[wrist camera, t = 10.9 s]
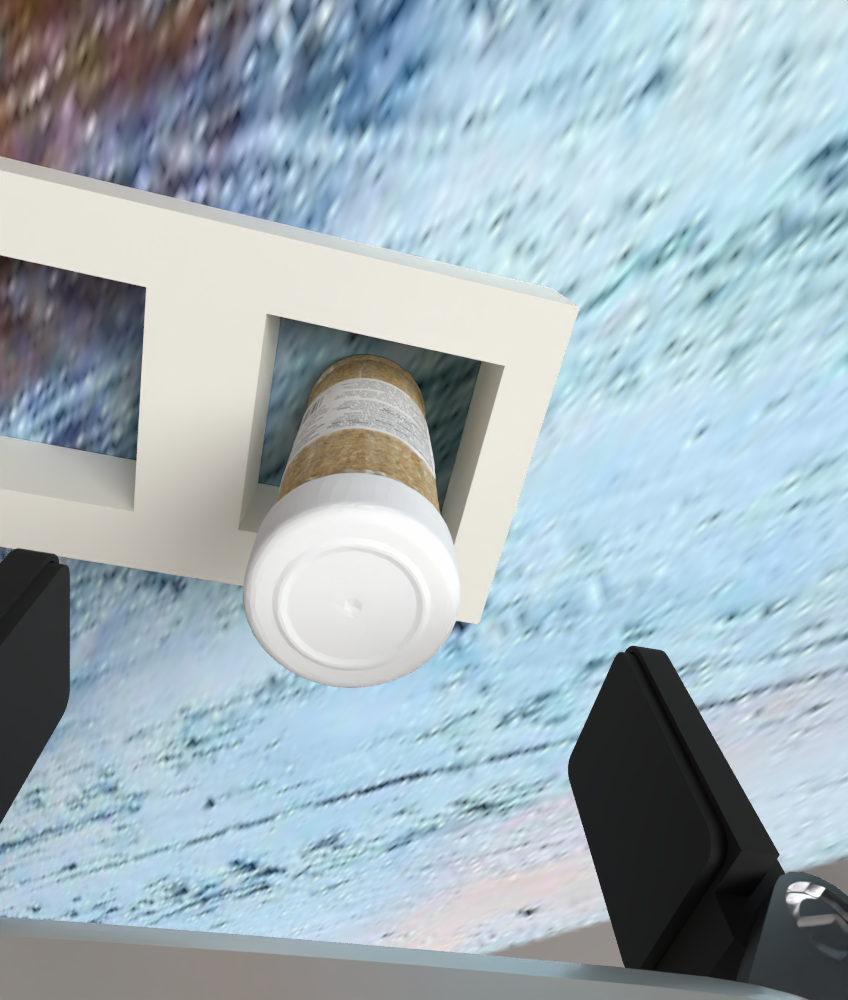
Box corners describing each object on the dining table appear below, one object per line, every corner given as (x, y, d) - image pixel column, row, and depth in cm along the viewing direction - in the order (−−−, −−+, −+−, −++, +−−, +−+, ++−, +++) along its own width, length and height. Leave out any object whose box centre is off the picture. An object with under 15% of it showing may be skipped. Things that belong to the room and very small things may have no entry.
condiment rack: (-114, 129, 21) (-216, 119, 18) (551, 288, 24) (579, 306, 21) (-83, 473, 26) (-158, 521, 22) (467, 569, 29) (478, 624, 26)
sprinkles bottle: (375, 485, 27) (368, 729, 15) (282, 416, 26) (192, 624, 14) (451, 401, 26) (509, 595, 14) (357, 323, 25) (331, 462, 12)
